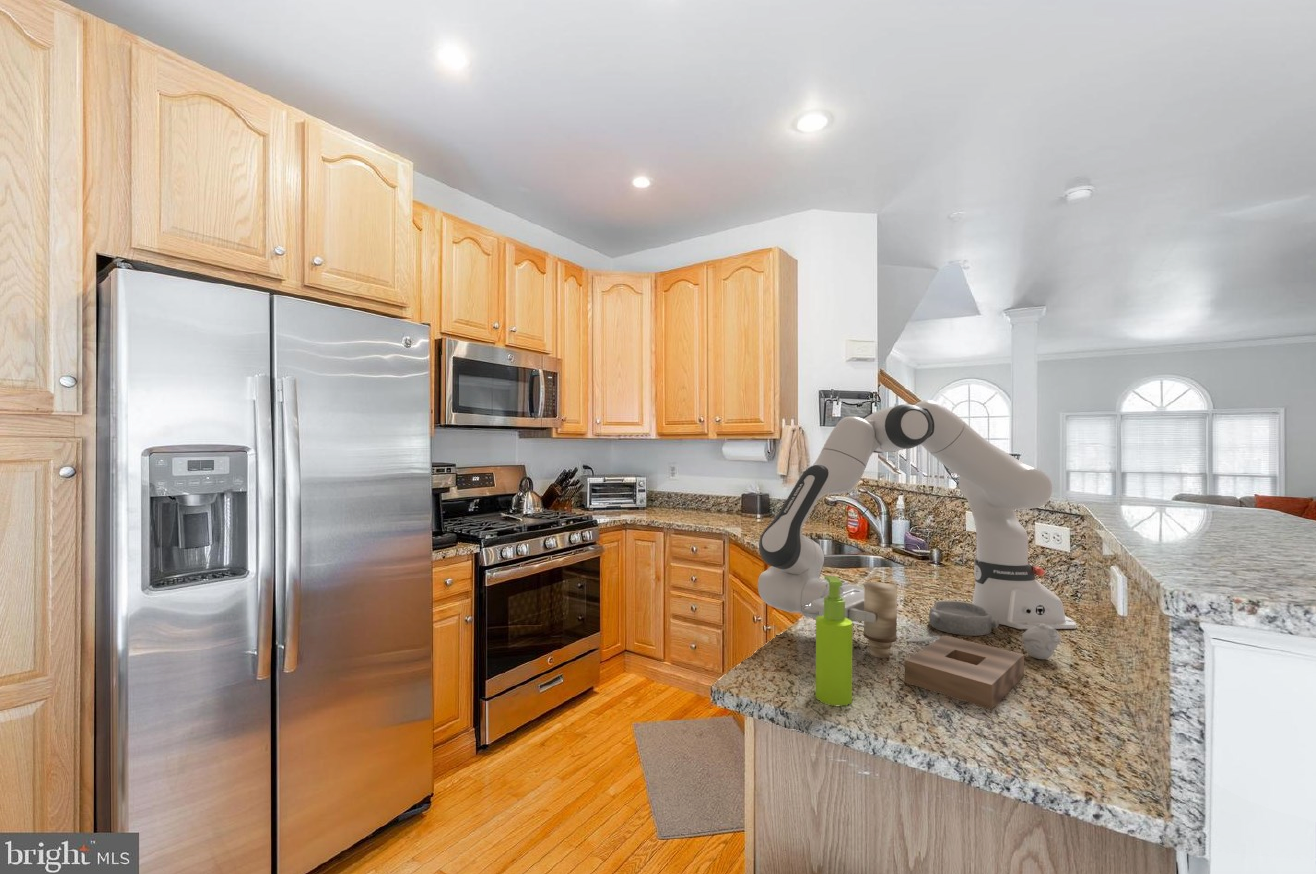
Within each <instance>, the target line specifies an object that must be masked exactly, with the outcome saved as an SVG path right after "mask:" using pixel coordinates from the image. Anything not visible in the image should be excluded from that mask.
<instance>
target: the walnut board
mask: <svg viewBox="0 0 1316 874" xmlns="http://www.w3.org/2000/svg"><path fill="white" fill-rule="evenodd" d="M1024 677H1025V654H1024V653H1020V652H1016V651H1011V650H1007V649H1003V648H999V647H996V646H990V645H987V644H983V643H978V642H974V641H970V640H967V639H962V638H959V637H954V636H949V635H945V634H944V635H943V636H941V637H939V638H938V639H936V640H935V641H933V642H932V643H930V644H928V645H926V646H924V647H923V648H922V649H920V650H919V651H916V652H915V653H913V654H912V655H911V656H909V657H907V658H905V659H904V683H906V684H909V685H912V686H915V687H917V688H918V687H919V688H922V689H924V690H928V691H931V692H934V693H938V694H941V695H944V696H948V697H951V698H954V699H957V700H961V701H962V702H965V703H969V704H973V705H976V706H979V707H981V708H982V707H983V708H985V709H988V710H993V709H994V708H995V707H996V705H998V704H999V703H1000V701H1001V700H1003V698H1005V697H1006V696H1007V695H1008V693H1009V692H1010V691H1011V690H1012V689H1013V688H1014V687H1015V686H1016V685H1017V684H1018V683H1019V682H1020V681H1021V680H1022V679H1023V678H1024Z"/></svg>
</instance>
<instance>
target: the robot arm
mask: <svg viewBox="0 0 1316 874" xmlns="http://www.w3.org/2000/svg"><path fill="white" fill-rule="evenodd" d="M920 445H921V446H922V447H923V448H924V450H926V451H927V452H928V453H930V454H931V456H932V457H934V458H936V460H938V462H939V463H941V464H942V465H944V467H945V468H947V469H948V470H949V471H950V472H951V473H953V474H955V475H957V476H959V477H958V488H959V490H960V492H961V494H962V495H963V496H964V497H965V499H966V501H967V502H968V504H969V508H970V511H971V514H972V517H973V521H974V526H975V532H976V534H975V535H976V537H975V538H976V557H975V559H974V567H973V568H974V569H973V572H974V573H973V575H974V581H975V584H974V585H975V586H974V592H973V597H972V602H971V603H972V604H975V605H978V606H980V607H983V608H985V609H987V610H988V612H989V613H990V614H991V615H992V618H993V619H998V621H999V625H1003V626H1007V627H1011V628H1013V629H1018V630H1028V629H1029V628H1031V627H1034V626H1036V625H1037V624H1039V623H1042V624H1046V625H1049V626H1051V627H1052V628H1054V629H1055V630H1059V629H1061V630H1063V629H1065V630H1066V629H1077V623H1076V621H1075V620H1073V619H1072V618H1070V617H1069V616H1066V614H1065V607H1064V604H1063V601H1062V600H1061V598H1060V597H1059V596H1058V595H1056V593H1054V592H1053V591H1051V590H1050V589H1049V588H1047V587H1046V586H1045V585H1043V583H1041V582H1040V581H1038V580H1037V578H1036V576H1038V577H1044V575H1045V574H1046V570H1045V569H1044V568H1042V567H1039V566H1033V565H1031V564H1029V559H1028V557H1029V555H1028V553H1029V546H1028V545H1029V535H1028V532H1027V530H1026V529H1025V528H1024V526H1023V525H1022V524H1021V523H1020V521H1019V519H1018V517H1017V514H1016V511H1017V510H1019V511H1021V510H1022V511H1023V510H1030V509H1038V508H1040V507H1043V506H1045V505H1046V503H1048V501H1050V498H1051V496H1052V493H1053V485H1052V481H1051V480H1050V477H1049V476H1048V475H1047V474H1046V472H1044V471H1043V470H1041V469H1038V468H1036V467H1033V466H1031V465H1029V464H1027V463H1025V462H1023V461H1021V460H1019V459H1018V458H1016V457H1014V456H1012V454H1010V453H1008V452H1006V451H1005V450H1003V449H1001V448H999V447H997V446H996V445H994V444H993V443H991V442H989V441H988V440H986V439H985V438H984V437H982V436H981V434H979V433H978V432H977V431H975V429H973V428H972V426H970V425H969V424H968V423H966V422H965V421H964V420H963V419H962V418H960V416H958V415H957V414H956V413H954V412H953V411H951V410H950V409H948V408H947V407H945V406H944V405H942V404H940V403H939V402H936V401H935V400H931V399H925V400H921V401H919V402H917V403H915V404H914V405H913V404H909V403H907V404H906V403H905V404H904V403H903V404H898V405H896V406H893V405H892V406H889V407H883V408H881V409H880V410H877V411H875V412H870V413H868V414H866V415H865V416H863V417H859V416H845V417H842V418H841V419H840V420H839V421H838V422H837V424H836V425H835V427H834V428H833V429H832V431H831V432H830V434H829V436H828V438H827V439H826V441H825V443H824V445H823V447H822V448H821V450H820V454H818V455H819V456H818V457H817V459H816V460H815V462H814V463H813V465H811V466H809V467H808V468H807V469H805V470H804V471H803V472H802V474H801V476H800V477H799V478H798V480H797V481H796V483H795V485H794V487H793V488H792V490H791V491H790V494H789V495H788V496H787V498H786V500H785V501H784V502H783V503H784V504H783V505H782V507H781V508H780V510H779V511H778V513H777V515H776V516H775V518H774V519H773V520H772V521H771V522H770V523H769V524H768V526H766V527H765V529H764V530H763V531H762V533H761V534H760V538H759V541H758V551H759V554H760V558H761V559H762V560H763V562H765V564H767V565H768V566H770V567H768V569H766V570H765V571H762V572H761V574H760V575H759V577H758V581H757V589H758V590H757V591H758V594H759V597H760V598H761V600H762V601H763V602H764V604H766V605H768V606H770V607H772V608H775V609H778V610H781V611H783V612H787V613H791V614H795V613H796V614H800V615H803V616H804V617H806V618H810V619H813V620H815V621H816V618H817V617H818V616H822V615H824V598H826V597H827V596H829V582H828V581H827V580H826V579H825V578H824V579H823V578H821V574H822V571H823V568H824V565H825V560H826V559H825V553H824V550H823V548H822V546H821V545H820V544H819V543H818V542H815V541H814V540H813V539H811V537H808V536H806V535H804V534H803V528H804V525H805V523H806V522H807V520H808V518H809V517H810V515H811V513H812V511H813V509H814V508H815V506H816V504H817V503H818V501H819V500H820V499H821V498H823V497H824V496H826V495H842V494H843V495H844V494H847V493H849V492H851V491H853V490H854V489H855V488H856V487H857V485H858V484H859V483H860V482H861V480H862V477H863V475H864V472H865V470H866V468H867V465H868V462H869V460H870V457H871V456H872V454H881V453H895V452H900V451H904V450H905V449H907V450H909V449H913V448H916V447H918V446H920ZM1015 510H1016V511H1015ZM840 580H841V582H842V586H840V597H841V598H842V599H844V600H845V618H848V619H850V620H851V621H854V622H864V621H867V622H871V623H874V622H876V621H877V620H878V618H877V617H878V614H877V613H876V612H871V611H868V612H867V611H864V586H861V585H857V584H856V585H855V584H849V581H847V580H844V579H843V580H842V579H840Z"/></svg>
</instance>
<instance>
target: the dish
mask: <svg viewBox="0 0 1316 874" xmlns="http://www.w3.org/2000/svg"><path fill="white" fill-rule="evenodd" d="M928 620H929V623H930V626H931V627H932V628H934V629H935V630H938V631H941V632H944V633H949V634H953V635H958V636H971V637H976V636H985V635H989V634H990V633H991V631H992V629H997V628H998V627H999V625H1000V624H999V621H998V619H993V618H992V615H991V614H990V613H989V612H988V610H987V609H985V608H983V607H980V606H978V605H975V604H972V602H969V601H960V600H936V601H935V602H934V605H933V607H931V608H930V610H929V612H928Z"/></svg>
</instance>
